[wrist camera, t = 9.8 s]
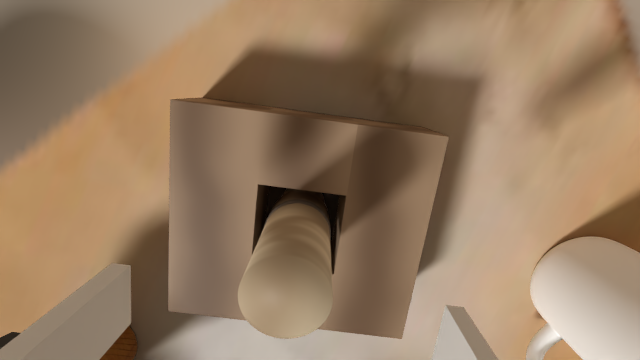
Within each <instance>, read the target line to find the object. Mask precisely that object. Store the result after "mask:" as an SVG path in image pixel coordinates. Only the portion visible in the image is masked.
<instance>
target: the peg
mask: <svg viewBox="0 0 640 360" xmlns="http://www.w3.org/2000/svg"><path fill="white" fill-rule="evenodd" d="M330 239H331V229H330V222H329V212H328V209H327V207H326V205H325V201H324V197H323V195H322V193H321V192H314V191H307V190H299V189H291V188H287V189H286V190H285V191H284V193H283V195H282V196H281V197H280V198H279V199H278V200H277V201H276V203H275V204H274V206H273V208H272V210H271V212H270V214H269V216H268V218H267V220H266V222H265V225H264V229H263V231H262V233H261V236H260V238H259V240H258V243H257V245H256V247H255V250H254V252H253V254H252V256H251V259H250V261H249V263H248V266H247V268H246V270H245V273H244V275H243V277H242V280H241V282H240V285H239V288H238V303H239V307H240V310H241V312H242V314H243V316H244V317H245V319H246V320H247V321H248V322H249V323H250V324H251V325H252V326H253V327H254V328H256V329H257V330H258V331H260V332H262V333H264V334H266V335H269V336H272V337H276V338H285V339H289V338H298V337H302V336H305V335H307V334H310V333H311V332H313V331H315V330H316V329H318V328H319V327H320V326H321V325H322V324H323V323H324V322H325V320H326V319H327V317H328V316H329V314H330V311H331V308H332V303H333V292H332V269H331V246H330Z"/></svg>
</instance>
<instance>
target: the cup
mask: <svg viewBox="0 0 640 360" xmlns="http://www.w3.org/2000/svg"><path fill="white" fill-rule="evenodd" d="M530 293H531V298H532V301H533V304H534V306H535V308H536V309H537V311H538V312H539V313H540V315H541V316H542V317H543V318H544V319H545V320H546V321H547V324H546V325H544V326H543V327H542V328H541V329H540V330H539V331H538V332H537V333H536V334H535V335H534V336H533V338H532V339H531V341H530V343H529V345H528V348H527V353H526V360H543V358H544V355H545V353H546V352H547V351H548V349H549V348H551V347H552V346H553V345H554V344H556V343H557V342H559V341H560V340H562V339H564V340H565V341H566V343H567V344H568V345H569V346H570V347H571V348H572V349H573V350H574V351H575V352H576V353H577V354H578V355H579V356H580V357H581V358H582V359H583V360H640V253H639V252H637V251H635V250H633V249H631V248H629V247H627V246H625V245H623V244H621V243H619V242H616V241H614V240H611V239H607V238H603V237H593V236H588V237H580V238H574V239H571V240H568V241H565V242H563V243H561V244H559V245H557V246H555V247H554V248H552V249H551V250H550V251H548V252H547V253H546V254H545V255H544V256H543V257H542V258H541V260H540V261H539V262H538V264H537V265H536V267H535V269H534V271H533V274H532V277H531V282H530Z"/></svg>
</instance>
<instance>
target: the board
mask: <svg viewBox="0 0 640 360" xmlns="http://www.w3.org/2000/svg"><path fill="white" fill-rule="evenodd" d="M448 139H449V137H448V136H445V135H443V134H440V133H437V132H435V131H432V130H429V129H427V128H424V127H417V126H409V125H402V124H395V123H387V122H380V121H372V120H365V119H357V118H350V117H342V116H335V115H328V114H320V113H313V112H305V111H298V110H290V109H283V108H275V107H268V106H261V105H253V104H246V103H238V102H231V101H223V100H216V99H208V98H187V99H171V100H170V178H169V268H168V311H172V312H180V313H188V314H197V315H205V316H214V317H222V318H230V319H239V320H246V319H245V317H244V316H243V314H242V312H241V310H240V307H239V303H238V288H239V285H240V282H241V280H242V277H243V275H244V273H245V270H246V268H247V266H248V263H249V261H250V259H251V256H252V254H253V252H254V250H255V247H256V245H257V243H258V240H259V238H260V236H261V233H262V231H263V229H264V225H265V222H266V211H267V200H268V190H269V186H276V187H283V188H291V189H299V190H307V191H314V192H322V193H330V194H338V195H339V199H338V206H337V212H336V219H335V225H334V232H333V238H332V240H330V246H331V269H332V292H333V303H332V308H331V311H330V314H329V316H328V317H327V319H326V320H325V322H324V323H323V324H322V325H321V326H320V327H319V328H318V329H323V330H331V331H339V332H348V333H356V334H365V335H373V336H381V337H390V338H398V339H402V335H403V331H404V327H405V322H406V318H407V314H408V310H409V305H410V301H411V297H412V293H413V288H414V284H415V280H416V276H417V271H418V267H419V263H420V259H421V254H422V250H423V246H424V241H425V237H426V233H427V229H428V224H429V220H430V216H431V212H432V207H433V203H434V199H435V195H436V190H437V186H438V182H439V178H440V173H441V169H442V165H443V161H444V156H445V152H446V148H447V143H448Z"/></svg>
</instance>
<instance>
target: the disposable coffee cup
mask: <svg viewBox="0 0 640 360" xmlns="http://www.w3.org/2000/svg"><path fill="white" fill-rule="evenodd" d="M136 352H137V340H136V337H135V334H134V332H133V331H132V329H131V328H130V326H128V327H127V328H126V330H125V331H124V332H123V333H122V334H121V335H120V336H119V338H118V339H117V340H116V341H115V342H114V343H113V345H112V346H111V347H110V348H109V349H108V350H107V351H106V353H105V354H104V355H103V356H102V357H101V358H100V360H133V359H134V357H135V355H136Z"/></svg>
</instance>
